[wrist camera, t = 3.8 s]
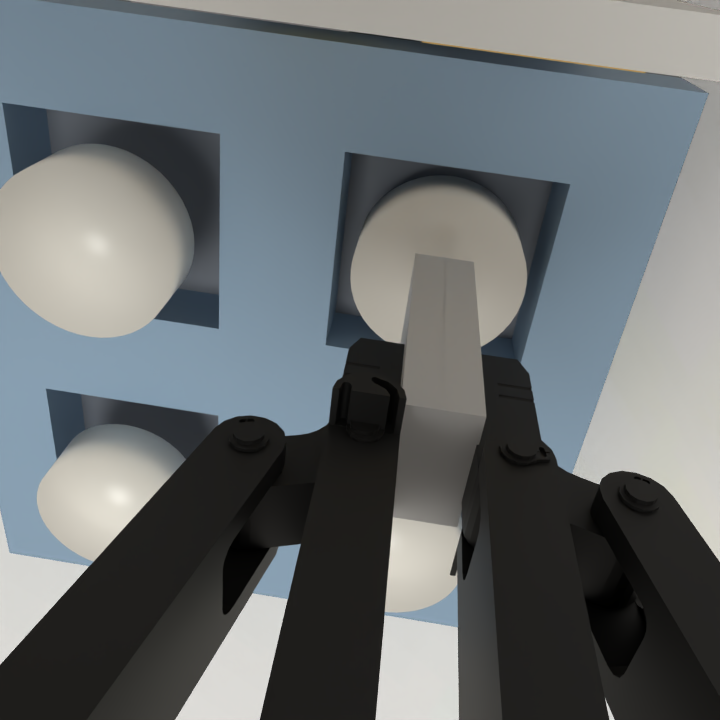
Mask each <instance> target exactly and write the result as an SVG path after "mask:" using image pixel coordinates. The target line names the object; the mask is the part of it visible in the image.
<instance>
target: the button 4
mask: <svg viewBox="0 0 720 720" xmlns="http://www.w3.org/2000/svg"><path fill="white" fill-rule="evenodd" d="M415 253H417V254H424V255H430V256H437V257H444V258H451V259H458V260H464V261H471V262H474V270H475V282H476V294H477V307H478V319H479V331H480V344H481V346H483V345H485V344H487V343H488V342H490V341H491V340H493V339H494V338H496V337H497V336H498V335H499V334H500V333H501V332H503V331H504V330H505V328H506V327H507V326H508V325H509V324H510V323H511V321H512V320H513V318H514V317H515V316H516V314H517V312H518V310H519V308H520V306H521V304H522V301H523V298H524V295H525V290H526V285H527V268H526V261H525V257H524V253H523V249H522V245H521V241H520V237H519V233H518V229H517V226H516V224H515V221H514V219H513V217H512V215H511V214H510V212H509V210H508V209H507V207H506V206H505V205H504V204H503V203H502V201H501V200H500V199H499V198H498V197H496V196H495V195H494V194H493V193H492V192H490V191H489V190H488V189H486V188H485V187H483V186H481V185H479V184H477V183H475V182H473V181H470V180H467V179H464V178H460V177H455V176H445V175H436V176H426V177H421V178H417V179H414V180H411V181H408V182H406V183H404V184H402V185H399V186H398V187H396V188H394V189H393V190H391V191H390V192H388V193H387V194H386V195H385V196H384V197H383V198H381V199H380V200H379V202H378V203H377V204H376V205H375V206H374V207H373V209H372V210H371V212H370V213H369V214H368V216H367V218H366V220H365V222H364V224H363V227H362V230H361V233H360V236H359V239H358V243H357V246H356V249H355V253H354V256H353V260H352V265H351V276H350V280H351V290H352V294H353V298H354V301H355V304H356V306H357V309H358V311H359V312H360V314H361V316H362V318H363V319H364V321H365V322H366V323H367V325H368V326H369V327H370V328H371V329H372V330H373V331H374V332H375V333H376V334H377V335H378V336H379V337H381V338H382V339H383V340H384V341H387V342H393V343H400V342H401V337H402V331H403V325H404V319H405V313H406V307H407V301H408V295H409V289H410V283H411V277H412V271H413V265H414V259H415Z"/></svg>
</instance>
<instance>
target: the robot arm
mask: <svg viewBox="0 0 720 720" xmlns="http://www.w3.org/2000/svg"><path fill="white" fill-rule="evenodd" d="M531 390H532V386H531V381H530V375H529V373H528V372H527V370H526V369H525V368H524V367H523V366H522V364H521V363H520V362H519V361H518V360H517V359H510V358H504V357H497V356H490V355H484V354H481V344H480V331H479V319H478V307H477V294H476V282H475V270H474V262H471V261H464V260H458V259H451V258H444V257H437V256H430V255H424V254H417V253H415V259H414V265H413V271H412V277H411V283H410V289H409V295H408V301H407V307H406V313H405V319H404V325H403V331H402V337H401V342H400V343H393V342H387V341H380V340H373V339H367V338H360V339H359V340H358V341H357V342H355V343H354V344H353V345H352V346H351V347H350V348H349V350H348V355H347V359H346V364H345V368H344V372H343V376H342V378H340V379H338V380H337V381H336V383H335V384H334V386H333V388H332V397H331V406H330V415H329V423H328V424H327V425H326V426H324V427H322V428H321V429H319V430H317V431H314V432H311V433H308V434H301V435H290V436H285V433H284V431H283V430H282V428H281V427H280V426H279V425H278V424H277V423H275V422H273V421H271V420H269V419H267V418H263V417H258V416H252V415H249V416H237V417H234V418H231V419H227V420H224V421H223V422H222V423H220V424H219V425H218V426H216V427H215V428H214V429H213V430H212V431H211V432H210V434H209V435H208V436H207V437H206V438H205V439H204V440H203V441H202V442H201V443H200V445H199V446H198V447H197V448H196V449H195V450H194V451H193V452H192V453H191V455H190V456H189V457H188V458H187V459H186V460H185V461H184V462H183V463H182V464H181V466H180V467H179V468H178V469H177V470H176V471H175V472H174V473H173V474H172V476H171V477H170V478H169V479H168V480H167V481H166V482H165V483H164V484H163V485H162V487H161V488H160V489H159V490H158V491H157V492H156V493H155V494H154V495H153V497H152V498H151V499H150V500H149V501H148V502H147V503H146V504H145V505H144V506H143V508H142V509H141V510H140V511H139V512H138V513H137V514H136V515H135V516H134V518H133V519H132V520H131V521H130V522H129V523H128V524H127V525H126V526H125V528H124V529H123V530H122V531H121V532H120V533H119V534H118V535H117V536H116V537H115V539H114V540H113V541H112V542H111V543H110V544H109V545H108V546H107V547H106V549H105V550H104V551H103V552H102V553H101V554H100V555H99V556H98V557H97V558H96V560H95V561H94V562H93V563H92V564H91V565H90V566H89V567H88V568H87V570H86V571H85V572H84V573H83V574H82V575H81V576H80V577H79V578H78V579H77V581H76V582H75V583H74V584H73V585H72V586H71V587H70V588H69V589H68V591H67V592H66V593H65V594H64V595H63V596H62V597H61V598H60V599H59V600H58V602H57V603H56V604H55V605H54V606H53V607H52V608H51V609H50V610H49V612H48V613H47V614H46V615H45V616H44V617H43V618H42V619H41V620H40V621H39V623H38V624H37V625H36V626H35V627H34V628H33V629H32V630H31V631H30V633H29V634H28V635H27V636H26V637H25V638H24V639H23V640H22V641H21V642H20V644H19V645H18V646H17V647H16V648H15V649H14V650H13V651H12V652H11V654H10V655H9V656H8V657H7V658H6V659H5V660H4V661H3V662H2V663H1V665H0V720H175V719H176V717H177V715H178V714H179V712H180V711H181V709H182V707H183V706H184V704H185V702H186V701H187V699H188V697H189V696H190V694H191V693H192V691H193V689H194V688H195V686H196V684H197V683H198V681H199V680H200V678H201V676H202V675H203V673H204V671H205V670H206V668H207V666H208V665H209V663H210V662H211V660H212V658H213V657H214V655H215V653H216V652H217V650H218V648H219V647H220V645H221V644H222V642H223V640H224V639H225V637H226V635H227V634H228V632H229V631H230V629H231V627H232V626H233V624H234V622H235V621H236V619H237V617H238V616H239V614H240V613H241V611H242V609H243V608H244V606H245V604H246V603H247V601H248V599H249V598H250V596H251V595H252V593H253V591H254V590H255V588H256V586H257V585H258V583H259V582H260V580H261V578H262V577H263V575H264V573H265V572H266V570H267V568H268V567H269V565H270V564H271V562H272V560H273V559H274V557H275V555H276V553H277V550H278V547H280V546H289V545H298V544H301V545H300V549H299V553H298V558H297V562H296V566H295V571H294V575H293V579H292V584H291V588H290V592H289V597H288V601H287V605H286V609H285V614H284V618H283V622H282V627H281V631H280V635H279V640H278V644H277V648H276V653H275V657H274V661H273V665H272V670H271V674H270V678H269V683H268V687H267V691H266V696H265V700H264V704H263V708H262V713H261V717H260V720H375V718H376V707H377V695H378V684H379V672H380V661H381V649H382V637H383V626H384V614H385V603H386V591H387V580H388V568H389V557H390V545H391V534H392V522H393V517H395V518H401V519H407V520H414V521H420V522H426V523H432V524H439V525H445V526H451V527H457V526H458V522H459V519H460V515H461V511H462V531H461V534H460V538H459V542H458V545H457V549H456V553H455V556H454V560H453V564H452V568H451V571H450V575H451V576H455V575H456V572H457V594H458V672H459V720H609V716H608V711H607V706H606V701H607V703H608V705H609V708H610V710H611V712H612V714H613V717H614V719H615V720H720V562H719V560H718V559H717V558H716V556H715V555H714V553H713V552H712V550H711V549H710V548H709V546H708V545H707V543H706V542H705V541H704V539H703V538H702V536H701V535H700V534H699V532H698V531H697V529H696V528H695V526H694V525H693V524H692V522H691V521H690V519H689V518H688V517H687V515H686V514H685V512H684V511H683V509H682V508H681V507H680V505H679V504H678V502H677V501H676V500H675V498H674V497H673V496H672V495H671V494H670V493H669V492H668V491H667V490H666V488H665V487H664V486H662V485H660V484H659V483H657V482H656V481H654V480H652V479H651V478H648V477H646V476H643V475H640V474H637V473H633V472H625V471H619V472H613V473H609V474H608V475H606V476H605V477H604V478H602V480H601V482H600V485H599V484H596V483H593V482H591V481H588V480H586V479H583V478H580V477H578V476H575V475H573V474H571V473H569V472H567V471H565V470H564V469H562V468H561V467H559V466H558V464H557V459H556V457H555V455H554V453H553V451H552V449H551V448H550V447H549V446H547V445H546V444H545V443H544V442H543V441H542V440H541V435H540V430H539V424H538V419H537V413H536V408H535V403H534V397H533V392H532V391H531ZM605 698H606V701H605Z"/></svg>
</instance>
